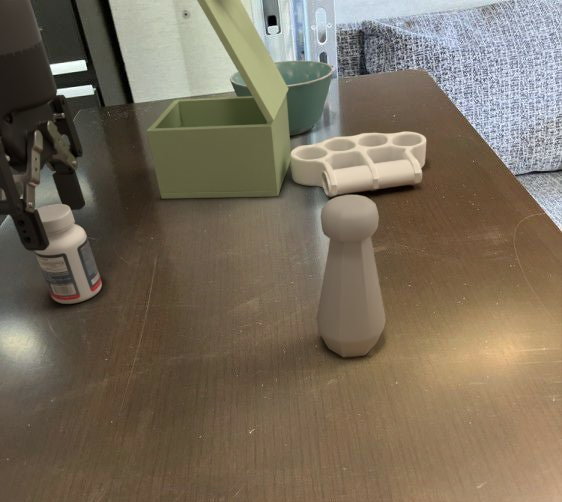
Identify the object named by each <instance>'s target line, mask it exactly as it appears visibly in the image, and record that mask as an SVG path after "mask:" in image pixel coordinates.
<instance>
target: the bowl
mask: <svg viewBox="0 0 562 502" xmlns="http://www.w3.org/2000/svg"><path fill="white" fill-rule="evenodd" d="M274 63H275V65H276V67H277V69H278V71H279V72H280V74H281V76H282V78H283V80H284V82H285V83H286V85H287V87H288V91H287V94H286V95H287V109H288V122H289V135H290V136H296V135H301V134H304V133H307V132H308V131H310V130H311V129H313V127H315V125H316V124H317V123H318V122H319V121H320V119H321V117H322V115H323V111H324V108H325V104H326V101H327V98H328V94H329V90H330V86H331V82H332V80H333V79H332V78H333V74H334V68H333V66H332V65H330V64H329V63H326V62H322V61H316V60H282V61H281V60H280V61H274ZM229 81H230V83H231V86H232V88H233V90H234V93H235V96H236V97H243V96H252V94H251V93H250V91H249V89H248V87H247V86H246V84H245V82H244V81H243V79H242V77H241V75H240V74H239V72H238V71H236V72H234V73H233V74H232V75H231V76H230V78H229Z"/></svg>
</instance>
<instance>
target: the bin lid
mask: <svg viewBox="0 0 562 502" xmlns="http://www.w3.org/2000/svg"><path fill="white" fill-rule="evenodd" d="M196 1H197V2H198V5H199V6H200V8H201V10H202V11H203V13H204V15H205V16H206V19H207V20H208V22H209V24H210V25H211V27H212V29H213V30H214V32H215V34H216V35H217V38H218V39H219V41H220V42H221V44H222V46H223V47H224V50H225V51H226V53H227V54H228V56H229V59H230V60H231V61H232V63H233V65H234V67H235V69H236V70H237V72H239V74H240V75H241V77H242V79H243V81H244V82H245V84H246V86H247V87H248V89H249V91H250V93H251V94H252V96H253V98H254V100H255V101H256V103H257V105H258V107H259V108H260V110H261V112H262V113H263V115H264V117H265V119H266V120H267V122H268V123H270V122H272V121H274V119H275V117H276V114H277V112H278V110H279V108H280V106H281V104H282V102H283V100H284V98H285V96H286V94H287V91H288V87H287V85H286V83H285V82H284V80H283V78H282V76H281V74H280V72H279V71H278V69H277V67H276V65H275V63H274V62H275V61H274V60H273V58H272V55H271V54H270V52H269V50H268V49H267V46H266V45H265V43H264V40H263V39H262V37H261V36H260V34H259V32H258V29H257V28H256V27H255V24H254V23H253V20H252V19H251V17H250V16H249V13H248V12H247V10H246V8H245V6H244V4H243V2H242V1H241V0H196Z"/></svg>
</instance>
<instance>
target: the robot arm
mask: <svg viewBox="0 0 562 502" xmlns="http://www.w3.org/2000/svg"><path fill="white" fill-rule="evenodd" d="M34 11H35V10H34V8H33V6H32V2H31V0H0V189H1V199H0V216H10V217H11V220H12V222H13V225H14V228H15V230H16V233H17V235H18V237H19V240H20V243H21V244H22V246H23V247H24V249H25V250H26V251H29V252H34V251H44V250H45V249H46V248H47V247H48V246H49V240H48V237H47V235H46V232H45V229H44V226H43V224H42V221H41V218H40V215H39V212H38V210H37V209H38V208H36V189H37V187H38V186H39V185H40V184H41V171H42V170H43V169H44V167H45V166H46V167H47V168H48V169H49V170H50V171H51V172H53V173H52V174H51V177H52V179H53V182H54V185H55V188H56V191H57V194H58V198H59V200H60V204H65V205H68V206H69V207H70V209H71V211H81V210H82V209H84V207H85V205H86V201H85V197H84V194H83V191H82V187H81V185H80V182H79V178H78V175H77V171H78V167H79V164H78V160H77V159H78V158H82V157H83V155H84V151H83V150H84V149H83V147H82V144H81V141H80V137H79V134H78V132H77V129H76V125H75V122H74V119H73V116H72V113H71V110H70V106H69V104H68V103H69V102H68V100H67V97H66V96H65V95H64V94H58V87H57V84H56V81H55V78H54V74H53V71H52V68H51V64H50V61H49V57H48V54H47V51H46V48H45V45H44V41H43V38H42V34H41V31H40V28H39V25H38V22H37V19H36V15H35V12H34ZM63 135H64V136H66V137H67V138H68V142H67V140H66V139H65V138H64V137H63ZM11 169H12V170H14V171H15V172H17V173H14V174H13V173H12V170H11ZM17 187H18V188H19V187H21V188H22V189H21V190H22V191H21V192H22V193H21V196H22V198H21V196H20V193H19V191H18V188H17Z"/></svg>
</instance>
